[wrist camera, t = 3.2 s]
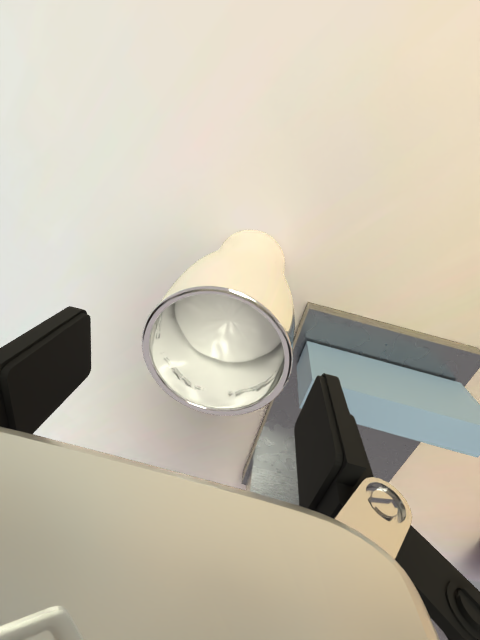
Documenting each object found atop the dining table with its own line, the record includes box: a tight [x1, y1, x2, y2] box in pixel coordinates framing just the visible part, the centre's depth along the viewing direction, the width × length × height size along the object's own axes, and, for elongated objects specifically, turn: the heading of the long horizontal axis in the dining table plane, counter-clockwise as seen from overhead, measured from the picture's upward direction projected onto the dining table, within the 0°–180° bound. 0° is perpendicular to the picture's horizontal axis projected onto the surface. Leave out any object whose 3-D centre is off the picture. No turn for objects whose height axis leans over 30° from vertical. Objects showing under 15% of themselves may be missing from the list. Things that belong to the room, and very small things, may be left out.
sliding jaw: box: [297, 341, 480, 457], centre depth 24 cm, size 3×14×6 cm, turn 77°
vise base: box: [242, 302, 480, 506], centre depth 29 cm, size 26×16×8 cm, turn 167°
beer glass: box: [142, 230, 295, 416], centre depth 19 cm, size 7×7×15 cm
